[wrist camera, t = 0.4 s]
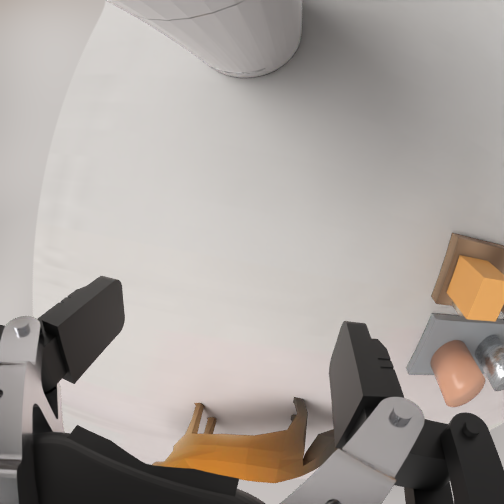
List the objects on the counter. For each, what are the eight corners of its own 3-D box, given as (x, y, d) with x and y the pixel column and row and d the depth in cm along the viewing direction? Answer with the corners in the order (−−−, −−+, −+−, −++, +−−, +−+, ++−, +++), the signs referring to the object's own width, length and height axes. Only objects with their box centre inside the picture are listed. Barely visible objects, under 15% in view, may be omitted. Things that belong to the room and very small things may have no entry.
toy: (150, 396, 39) (109, 474, 25) (352, 378, 32) (363, 488, 18) (181, 437, 42) (153, 508, 29) (357, 425, 35) (364, 515, 22)
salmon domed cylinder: (441, 339, 27) (460, 375, 21) (472, 340, 26) (492, 373, 21) (423, 371, 29) (437, 408, 23) (454, 371, 28) (470, 405, 23)
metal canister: (484, 334, 26) (505, 365, 20) (504, 334, 26) (525, 363, 20) (470, 359, 27) (487, 392, 22) (490, 359, 27) (508, 389, 22)
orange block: (446, 292, 24) (466, 319, 20) (459, 255, 23) (483, 277, 18) (474, 296, 24) (495, 321, 20) (487, 260, 22) (512, 282, 18)
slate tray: (432, 313, 27) (435, 319, 26) (538, 321, 25) (542, 325, 24) (406, 367, 30) (408, 374, 29) (513, 365, 28) (516, 370, 27)
